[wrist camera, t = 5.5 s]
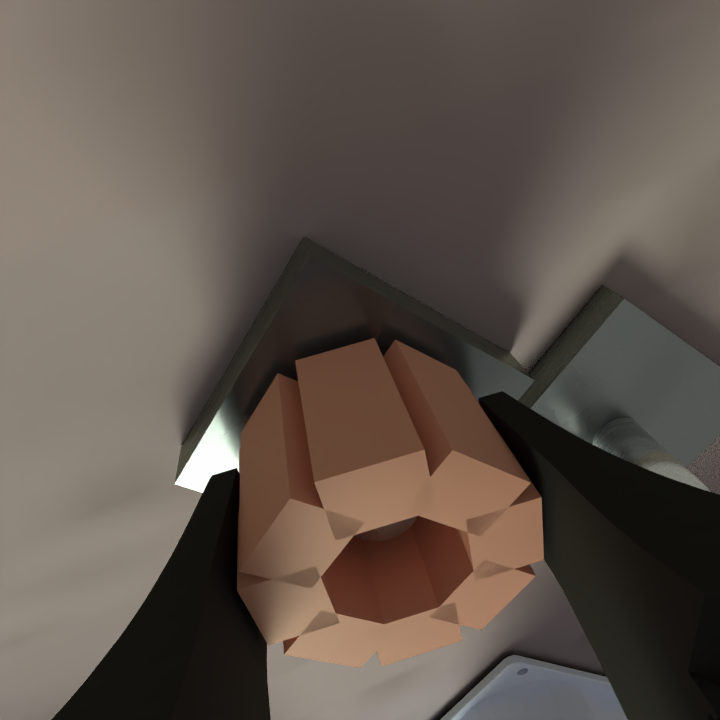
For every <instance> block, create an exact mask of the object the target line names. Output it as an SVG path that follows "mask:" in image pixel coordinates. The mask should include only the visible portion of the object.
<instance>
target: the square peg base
mask: <svg viewBox="0 0 720 720" xmlns="http://www.w3.org/2000/svg"><path fill="white" fill-rule="evenodd" d="M373 338H375V340H376V342H377V344H378V347H379V349H380V351H381V353H382V356H384V355H385V353H386V352H387V351H388V349H389V348H390V346H391V345H392V343H393V342H394V341H395V340H397V341H399V342H401V343H403V344H405V345H407V346H409V347H411V348H413V349H415V350H417V351H419V352H421V353H423V354H425V355H427V356H429V357H431V358H433V359H435V360H437V361H439V362H441V363H443V364H445V365H447V366H449V367H451V368H453V369H455V370H457V372H458V373H459V375H460V376H461V378H462V379H463V381H464V382H465V383H466V384H467V386H468V387H469V389H470V390H471V392H472V393H473V395H474V396H475V398H476V399H477V401H478V402H479V398H480V397H483V396H487V395H490V394H494V393H497V392H501V391H503V392H505V393H506V394H508V395H510V396H511V397H513V398H514V399H516V400H519V399H520V397H521V396H522V395H523V394H524V393H525V391H526V390H527V389H528V388H529V387H530V385H531V384H532V383H533V382H534V381H535V380H534V379H533V378H532V377H531V376H530V374H529V373H528V372H527V371H526V370H525V369H524V368H523V367H522V366H521V364H520V363H519V362H518V361H517V360H516V359H515V358H514V357H513V356H512V355H511V354H510V353H508V352H507V351H505V350H503V349H501V348H500V347H498V346H496V345H494V344H493V343H491V342H489V341H487V340H486V339H484V338H482V337H480V336H478V335H477V334H475V333H473V332H471V331H470V330H468V329H466V328H464V327H463V326H461V325H459V324H457V323H456V322H454V321H452V320H450V319H449V318H447V317H445V316H443V315H441V314H440V313H438V312H436V311H434V310H433V309H431V308H429V307H427V306H426V305H424V304H422V303H420V302H419V301H417V300H415V299H413V298H411V297H410V296H408V295H406V294H404V293H403V292H401V291H399V290H397V289H396V288H394V287H392V286H390V285H389V284H387V283H385V282H383V281H381V280H380V279H378V278H376V277H374V276H373V275H371V274H369V273H367V272H366V271H364V270H362V269H360V268H359V267H357V266H355V265H353V264H351V263H350V262H348V261H346V260H344V259H343V258H341V257H339V256H337V255H336V254H334V253H332V252H330V251H329V250H327V249H325V248H323V247H321V246H320V245H318V244H316V243H314V242H313V241H311V240H309V239H307V238H306V237H304V238H303V239H302V241H301V243H300V244H299V246H298V248H297V250H296V251H295V253H294V255H293V256H292V258H291V260H290V262H289V263H288V265H287V267H286V268H285V270H284V272H283V274H282V275H281V277H280V279H279V281H278V282H277V284H276V286H275V287H274V289H273V291H272V293H271V294H270V296H269V298H268V299H267V301H266V303H265V305H264V306H263V308H262V310H261V311H260V313H259V315H258V317H257V318H256V320H255V322H254V323H253V325H252V327H251V329H250V330H249V332H248V334H247V335H246V337H245V339H244V341H243V342H242V344H241V346H240V347H239V349H238V351H237V353H236V354H235V356H234V358H233V359H232V361H231V363H230V365H229V366H228V368H227V370H226V371H225V373H224V375H223V377H222V378H221V380H220V382H219V383H218V385H217V387H216V389H215V390H214V392H213V394H212V395H211V397H210V399H209V401H208V402H207V404H206V406H205V408H204V409H203V411H202V413H201V414H200V416H199V418H198V420H197V421H196V423H195V425H194V426H193V428H192V430H191V432H190V433H189V435H188V437H187V438H186V440H185V442H184V444H183V445H182V447H181V451H180V457H179V462H178V468H177V474H176V479H175V484H176V485H179V486H182V487H186V488H189V489H192V490H195V491H198V492H202V493H203V491H204V489H205V487H206V485H207V483H208V481H209V479H210V477H211V476H212V475H214V474H218V473H221V472H225V471H228V470H231V469H235V468H237V470H238V472H239V449H240V444H241V432H242V430H243V428H244V427H245V425H246V424H247V422H248V420H249V419H250V417H251V416H252V414H253V412H254V411H255V409H256V408H257V406H258V404H259V403H260V401H261V400H262V398H263V396H264V395H265V393H266V391H267V390H268V388H269V387H270V385H271V383H272V382H273V380H274V379H275V377H276V375H277V374H278V373H279V374H281V375H284V376H286V377H288V378H291V379H293V380H296V381H298V376H297V370H296V363H295V361H296V360H299V359H303V358H306V357H310V356H313V355H317V354H320V353H324V352H327V351H331V350H334V349H338V348H341V347H345V346H348V345H352V344H355V343H359V342H362V341H366V340H369V339H373ZM416 518H417V516H415V517H412V518H409V519H405V520H402V521H399V522H396V523H392V524H389V525H386V526H382V527H379V528H376V529H372V530H369V531H366V532H363V533H359V534H356V535H355V536H356V537H358V538H360V539H363V540H366V541H385V540H389V539H392V538H395V537H397V536H399V535H401V534H402V533H404V532H405V531H407V530H408V529H409V528H410V527H411V526H412V525H413V523H414V522H415V520H416Z"/></svg>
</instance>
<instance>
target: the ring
mask: <svg viewBox="0 0 720 720" xmlns="http://www.w3.org/2000/svg"><path fill="white" fill-rule="evenodd" d="M295 363H296V370H297V376H298V381H296V380H293V379H291V378H288V377H286V376H284V375H281V374H279V373H278V374H277V375H276V377H275V379H274V380H273V382H272V383H271V385H270V387H269V388H268V390H267V391H266V393H265V395H264V396H263V398H262V400H261V401H260V403H259V404H258V406H257V408H256V409H255V411H254V412H253V414H252V416H251V417H250V419H249V420H248V422H247V424H246V425H245V427H244V428H243V430H242V432H241V444H240V449H239V474H240V504H239V514H238V553H237V591H238V593H239V595H240V596H241V598H242V600H243V602H244V604H245V605H246V607H247V609H248V611H249V612H250V614H251V616H252V618H253V619H254V621H255V623H256V625H257V626H258V628H259V630H260V632H261V633H262V635H263V637H264V639H265V640H266V642H267V644H268V645H271V644H275V643H278V642H281V641H283V644H284V655H289V656H295V657H301V658H306V659H312V660H318V661H323V662H329V663H335V664H340V665H346V666H352V667H357V668H361V667H362V665H363V664H364V663H365V662H366V661H367V660H368V659H369V658H370V657H371V656H372V655H373V654H374V652H375V651H376V652H377V654H378V657H379V660H380V662H381V665H382V666H384V665H387V664H390V663H393V662H396V661H400V660H403V659H406V658H409V657H412V656H415V655H419V654H422V653H425V652H428V651H431V650H434V649H438V648H441V647H444V646H447V645H450V644H453V643H457V642H460V641H462V636H461V631H460V626H459V625H463V626H468V627H472V628H476V629H480V630H482V629H483V628H484V627H485V626H486V625H487V624H488V623H489V622H490V621H491V620H492V619H493V618H494V617H495V616H496V615H497V614H498V613H499V612H500V611H501V610H502V609H503V608H504V607H505V606H506V605H507V604H508V603H509V602H510V601H511V600H512V599H513V598H514V597H515V596H516V595H517V594H518V593H519V592H520V591H521V590H522V589H523V588H524V587H525V586H526V585H527V584H528V583H529V582H530V581H531V580H532V579H533V578H534V577H535V576H536V575H535V573H534V572H533V570H532V568H531V566H530V564H532V563H535V562H538V561H542V560H544V547H543V521H542V497H541V496H540V494H539V493H538V491H537V490H536V488H535V486H534V485H533V483H532V482H531V480H530V479H529V477H528V476H527V474H526V473H525V471H524V470H523V468H522V467H521V465H520V464H519V462H518V461H517V459H516V458H515V456H514V455H513V453H512V452H511V450H510V449H509V447H508V446H507V444H506V443H505V441H504V440H503V438H502V437H501V435H500V434H499V433H498V431H497V430H496V429H495V427H494V426H493V424H492V423H491V421H490V420H489V418H488V417H487V415H486V414H485V412H484V411H483V409H482V408H481V406H480V405H479V402H478V401H477V399H476V398H475V396H474V395H473V393H472V392H471V390H470V389H469V387H468V386H467V384H466V383H465V382H464V381H463V379H462V378H461V376H460V375H459V373H458V372H457V370H455V369H453V368H451V367H449V366H447V365H445V364H443V363H441V362H439V361H437V360H435V359H433V358H431V357H429V356H427V355H425V354H423V353H421V352H419V351H417V350H415V349H413V348H411V347H409V346H407V345H405V344H403V343H401V342H399V341H397V340H395V341H394V342H393V343H392V345H391V346H390V348H389V349H388V351H387V352H386V353H385V355H384V356H382V353H381V351H380V349H379V347H378V344H377V342H376V340H375V338H373V339H369V340H366V341H362V342H359V343H355V344H352V345H348V346H345V347H341V348H338V349H334V350H331V351H327V352H324V353H320V354H317V355H313V356H310V357H306V358H303V359H299V360H296V361H295ZM415 516H417V518H416V520H415V522H414V523H413V525H412V526H411V527H410V528H409V529H408V530H407V531H405V532H404V533H402V534H401V535H399V536H397V537H395V538H392V539H389V540H385V541H366V540H363V539H360V538H358V537H356V536H355V535H356V534H359V533H363V532H366V531H369V530H372V529H376V528H379V527H382V526H386V525H389V524H392V523H396V522H399V521H402V520H405V519H409V518H412V517H415Z"/></svg>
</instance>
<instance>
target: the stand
mask: <svg viewBox="0 0 720 720" xmlns="http://www.w3.org/2000/svg"><path fill="white" fill-rule="evenodd" d="M529 374H530V376H531V377H532V378H533V379H534V380H535V381H534V382H533V383H532V384H531V385H530V387H529V388H528V389H527V390H526V391H525V393H524V394H523V395H522V396H521V397H520V399H519V400H518V401H519V402H521V403H522V404H524V405H526V406H527V407H529V408H530V409H532V410H534V411H535V412H537V413H538V414H540V415H542V416H543V417H545V418H547V419H548V420H550V421H552V422H553V423H555V424H557V425H558V426H560V427H562V428H564V429H565V430H567V431H569V432H571V433H572V434H574V435H576V436H578V437H579V438H581V439H583V440H585V441H587V442H589V443H591V444H593V445H595V446H597V447H599V448H601V449H603V450H605V451H607V452H609V453H611V454H613V455H615V456H617V457H619V458H622V459H624V460H626V461H628V462H631V463H633V464H636V465H638V466H640V467H643V468H645V469H648V470H650V471H652V472H655V473H657V474H660V475H663V476H665V477H668V478H671V479H673V480H676V481H679V482H682V483H685V484H688V485H691V486H694V487H697V488H700V489H703V490H706V491H709V492H711V491H710V490H709V488H708V487H706V486H705V485H704V484H703V483H702V482H701V481H700V480H699V479H698V478H697V477H696V476H695V475H693V474H692V473H691V472H690V471H689V470H688V469H687V468H686V467H687V466H688V465H689V464H690V463H691V462H693V461H694V460H695V459H696V458H697V457H698V456H699V455H700V454H701V453H702V452H703V451H704V450H705V449H706V448H707V447H708V446H709V445H710V444H711V443H712V442H713V441H714V440H715V439H716V438H717V437H718V436H719V435H720V366H718V365H717V364H715V363H714V362H713V361H711V360H710V359H708V358H707V357H706V356H704V355H703V354H701V353H700V352H699V351H697V350H696V349H694V348H693V347H692V346H690V345H689V344H687V343H686V342H685V341H683V340H682V339H680V338H679V337H678V336H676V335H675V334H673V333H672V332H671V331H669V330H668V329H666V328H665V327H664V326H662V325H661V324H659V323H658V322H657V321H655V320H654V319H652V318H651V317H650V316H648V315H647V314H645V313H644V312H643V311H641V310H640V309H638V308H637V307H636V306H634V305H633V304H631V303H630V302H629V301H627V300H626V299H624V298H623V297H621V296H620V295H618V294H616V293H615V292H613V291H612V290H610V289H608V288H607V287H605V286H604V285H602V286H601V288H600V289H599V290H598V291H597V292H596V294H595V295H594V296H593V297H592V298H591V300H590V301H589V302H588V303H587V305H586V306H585V307H584V308H583V309H582V311H581V312H580V313H579V314H578V315H577V317H576V318H575V319H574V320H573V321H572V323H571V324H570V325H569V326H568V327H567V329H566V330H565V331H564V332H563V333H562V335H561V336H560V337H559V338H558V339H557V341H556V342H555V343H554V344H553V345H552V347H551V348H550V349H549V350H548V351H547V353H546V354H545V355H544V356H543V357H542V359H541V360H540V361H539V362H538V364H537V365H536V366H535V367H534V368H533V370H532V371H531V372H530V373H529Z"/></svg>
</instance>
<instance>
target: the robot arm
mask: <svg viewBox="0 0 720 720" xmlns="http://www.w3.org/2000/svg"><path fill="white" fill-rule="evenodd" d="M479 405H480V406H481V408H482V409H483V411H484V412H485V414H486V415H487V417H488V418H489V420H490V421H491V423H492V424H493V426H494V427H495V429H496V430H497V431H498V433H499V434H500V435H501V437H502V438H503V440H504V441H505V443H506V444H507V446H508V447H509V449H510V450H511V452H512V453H513V455H514V456H515V458H516V459H517V461H518V462H519V464H520V465H521V467H522V468H523V470H524V471H525V473H526V474H527V476H528V477H529V479H530V480H531V482H532V483H533V485H534V486H535V488H536V490H537V491H538V493H539V494H540V496H541V497H542V521H543V547H544V560H545V561H546V563H547V565H548V566H549V568H550V569H551V571H552V572H553V574H554V576H555V577H556V579H557V581H558V582H559V584H560V586H561V587H562V589H563V591H564V593H565V595H566V597H567V599H568V601H569V603H570V605H571V606H572V608H573V610H574V612H575V614H576V616H577V618H578V620H579V622H580V624H581V626H582V628H583V630H584V632H585V634H586V636H587V638H588V640H589V642H590V644H591V646H592V648H593V650H594V652H595V654H596V655H597V657H598V659H599V661H600V663H601V665H602V667H603V669H604V672H605V674H606V676H607V677H605V676H601V675H596V674H592V673H588V672H584V671H580V670H576V669H572V668H568V667H564V666H559V665H555V664H551V663H547V662H543V661H539V660H535V659H531V658H526V657H522V656H518V655H512V656H509V657H506V658H505V659H504V660H503V661H501V662H500V663H499V664H498V665H497V666H496V667H495V668H494V669H493V670H492V671H491V672H490V673H489V674H488V675H487V676H486V677H485V678H484V679H482V680H481V681H480V682H479V683H478V684H477V685H476V686H475V687H474V688H473V689H472V690H471V691H470V692H469V693H468V694H467V695H466V696H465V697H464V698H462V699H461V700H460V701H459V702H458V703H457V704H456V705H455V706H454V707H453V708H452V709H451V710H450V711H449V712H448V713H447V714H446V715H445V716H443V717H442V718H441V719H440V720H720V495H719V494H715V493H712V492H709V491H706V490H703V489H700V488H697V487H694V486H691V485H688V484H685V483H682V482H679V481H676V480H673V479H671V478H668V477H665V476H663V475H660V474H657V473H655V472H652V471H650V470H648V469H645V468H643V467H640V466H638V465H636V464H633V463H631V462H628V461H626V460H624V459H622V458H619V457H617V456H615V455H613V454H611V453H609V452H607V451H605V450H603V449H601V448H599V447H597V446H595V445H593V444H591V443H589V442H587V441H585V440H583V439H581V438H579V437H578V436H576V435H574V434H572V433H571V432H569V431H567V430H565V429H564V428H562V427H560V426H558V425H557V424H555V423H553V422H552V421H550V420H548V419H547V418H545V417H543V416H542V415H540V414H538V413H537V412H535V411H534V410H532V409H530V408H529V407H527V406H526V405H524V404H522V403H521V402H519V401H518V400H516V399H514V398H513V397H511V396H510V395H508V394H506V393H505V392H503V391H501V392H497V393H494V394H490V395H487V396H483V397H480V398H479ZM239 504H240V474H239V472H238V470H237V468H235V469H231V470H228V471H225V472H221V473H218V474H214V475H212V476H211V477H210V479H209V481H208V483H207V485H206V487H205V489H204V491H203V493H202V496H201V498H200V500H199V502H198V504H197V506H196V508H195V510H194V512H193V515H192V517H191V519H190V521H189V523H188V525H187V527H186V529H185V531H184V533H183V534H182V536H181V538H180V540H179V542H178V544H177V546H176V548H175V550H174V552H173V554H172V555H171V557H170V559H169V561H168V563H167V564H166V566H165V568H164V569H163V571H162V573H161V575H160V576H159V578H158V580H157V582H156V583H155V585H154V587H153V588H152V590H151V592H150V593H149V595H148V596H147V598H146V600H145V601H144V603H143V604H142V606H141V607H140V609H139V610H138V612H137V613H136V615H135V616H134V618H133V619H132V621H131V622H130V624H129V625H128V626H127V628H126V629H125V631H124V632H123V634H122V635H121V636H120V638H119V639H118V640H117V641H116V643H115V644H114V645H113V647H112V648H111V649H110V650H109V652H108V653H107V654H106V656H105V657H104V658H103V659H102V661H101V662H100V663H99V665H98V666H97V667H96V668H95V670H94V671H93V672H92V673H91V675H90V676H89V677H88V679H87V680H86V681H85V682H84V683H83V685H82V686H81V687H80V688H79V689H78V690H77V692H76V693H75V694H74V695H73V696H72V697H71V699H70V700H69V701H68V702H67V703H66V704H65V705H64V707H63V708H62V709H61V710H60V711H59V712H58V713H57V714H56V715H55V717H54V718H53V719H52V720H270V708H269V696H268V684H267V642H266V640H265V639H264V637H263V635H262V633H261V632H260V630H259V628H258V626H257V625H256V623H255V621H254V619H253V618H252V616H251V614H250V612H249V611H248V609H247V607H246V605H245V604H244V602H243V600H242V598H241V596H240V595H239V593H238V591H237V553H238V514H239Z"/></svg>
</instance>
